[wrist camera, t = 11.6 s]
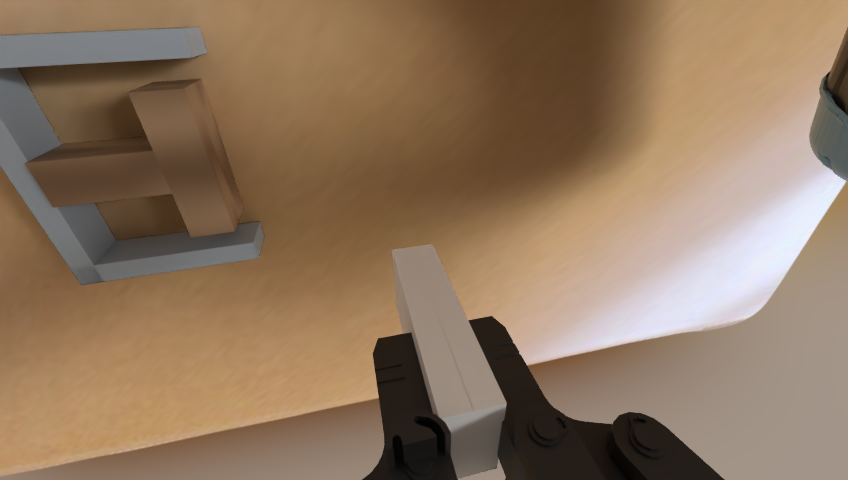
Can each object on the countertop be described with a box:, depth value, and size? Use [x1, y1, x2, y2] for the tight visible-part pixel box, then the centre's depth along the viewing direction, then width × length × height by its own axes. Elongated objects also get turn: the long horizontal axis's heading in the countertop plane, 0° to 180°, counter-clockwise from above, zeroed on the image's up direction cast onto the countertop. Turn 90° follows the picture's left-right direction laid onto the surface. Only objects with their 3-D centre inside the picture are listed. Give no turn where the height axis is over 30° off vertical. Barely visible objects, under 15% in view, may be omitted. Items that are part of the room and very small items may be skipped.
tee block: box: [25, 79, 244, 237], centre depth 25 cm, size 10×10×4 cm
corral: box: [0, 27, 264, 285], centre depth 25 cm, size 16×12×4 cm
